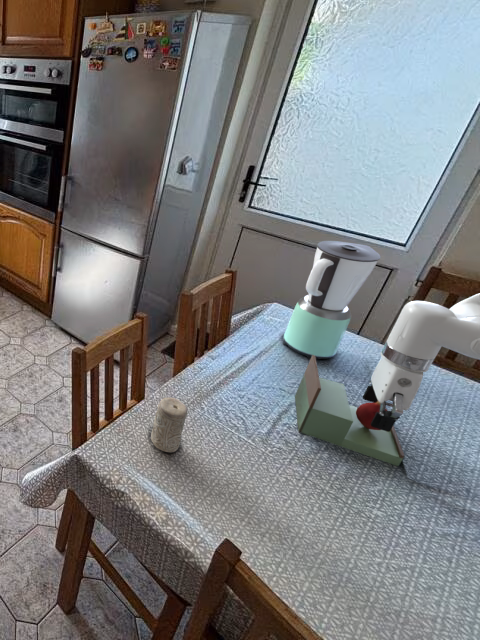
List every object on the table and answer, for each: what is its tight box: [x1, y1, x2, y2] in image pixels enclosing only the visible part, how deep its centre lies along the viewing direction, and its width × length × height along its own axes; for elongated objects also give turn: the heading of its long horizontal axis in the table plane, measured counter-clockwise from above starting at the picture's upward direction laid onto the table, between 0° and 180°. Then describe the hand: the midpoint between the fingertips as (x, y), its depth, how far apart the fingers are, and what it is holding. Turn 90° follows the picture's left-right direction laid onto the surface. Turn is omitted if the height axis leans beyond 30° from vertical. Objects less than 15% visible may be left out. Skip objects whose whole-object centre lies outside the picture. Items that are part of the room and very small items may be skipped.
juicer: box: [282, 240, 381, 361], centre depth 121 cm, size 19×13×35 cm
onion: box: [356, 401, 388, 430], centre depth 96 cm, size 6×6×8 cm
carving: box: [150, 396, 188, 453], centre depth 95 cm, size 6×8×12 cm
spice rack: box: [294, 355, 405, 467], centre depth 98 cm, size 18×14×14 cm
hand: (375, 414), depth 96 cm, fingers open, 9 cm apart
